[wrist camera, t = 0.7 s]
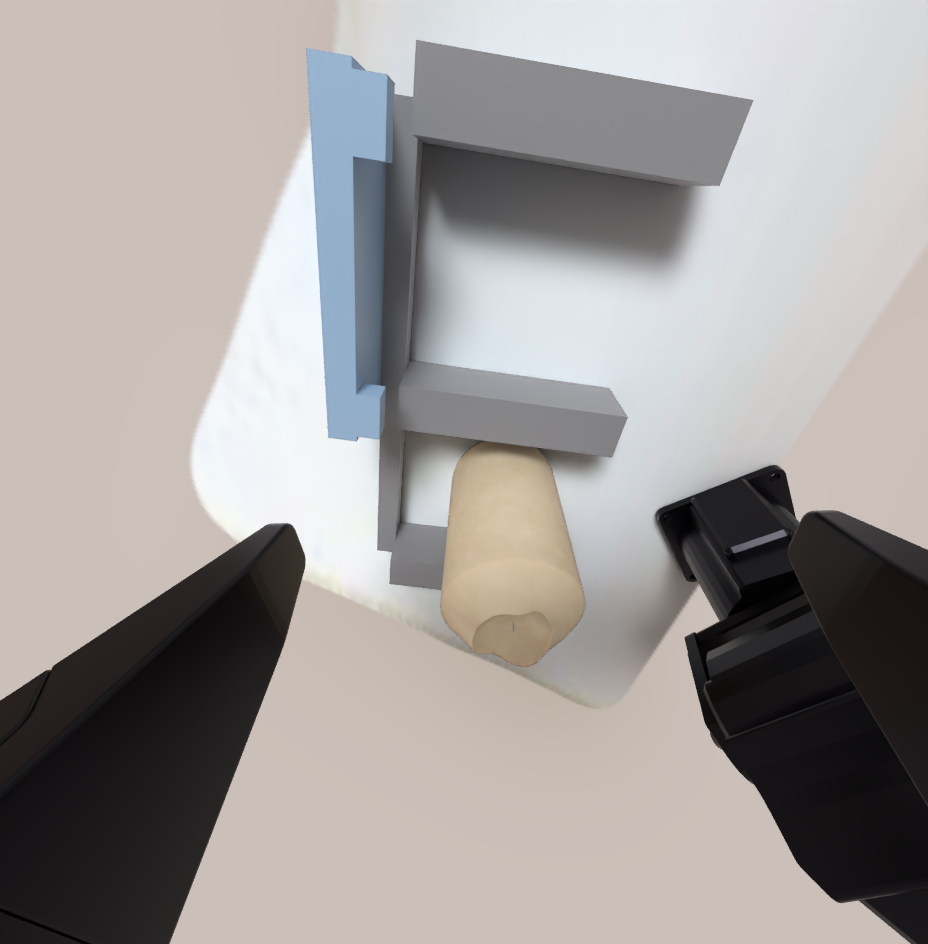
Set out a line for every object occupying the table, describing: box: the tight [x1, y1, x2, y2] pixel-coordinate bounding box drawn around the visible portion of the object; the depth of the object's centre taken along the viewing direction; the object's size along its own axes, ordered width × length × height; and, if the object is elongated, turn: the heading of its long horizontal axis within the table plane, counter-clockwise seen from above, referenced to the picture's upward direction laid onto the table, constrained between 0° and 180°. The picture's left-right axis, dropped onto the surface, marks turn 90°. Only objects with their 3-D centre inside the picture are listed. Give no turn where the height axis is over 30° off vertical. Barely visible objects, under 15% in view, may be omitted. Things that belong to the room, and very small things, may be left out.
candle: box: [440, 441, 585, 667], centre depth 19 cm, size 6×6×10 cm
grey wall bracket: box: [306, 40, 753, 590], centre depth 18 cm, size 22×12×6 cm, turn 172°
